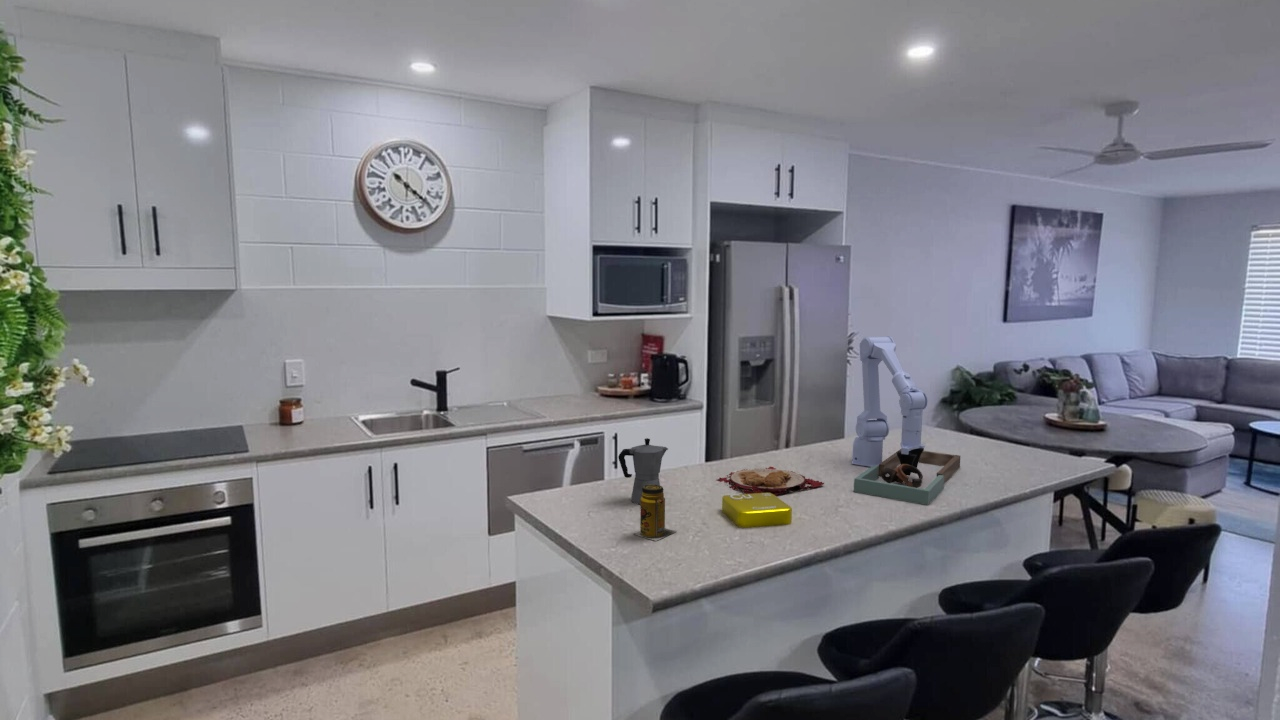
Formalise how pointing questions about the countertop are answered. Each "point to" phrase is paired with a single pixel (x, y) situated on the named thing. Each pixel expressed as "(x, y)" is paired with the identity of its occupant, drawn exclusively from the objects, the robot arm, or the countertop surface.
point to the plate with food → (768, 481)
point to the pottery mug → (902, 475)
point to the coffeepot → (643, 466)
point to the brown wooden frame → (928, 462)
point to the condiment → (653, 513)
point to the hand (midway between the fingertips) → (909, 472)
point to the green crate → (896, 488)
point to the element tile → (756, 510)
